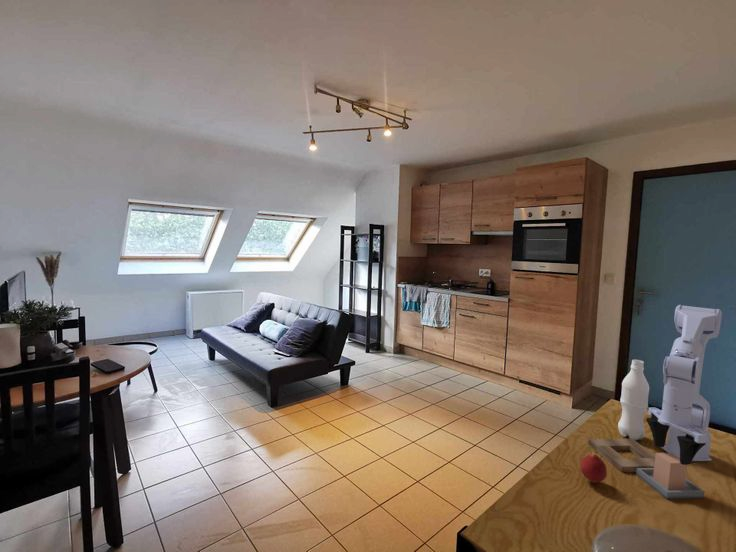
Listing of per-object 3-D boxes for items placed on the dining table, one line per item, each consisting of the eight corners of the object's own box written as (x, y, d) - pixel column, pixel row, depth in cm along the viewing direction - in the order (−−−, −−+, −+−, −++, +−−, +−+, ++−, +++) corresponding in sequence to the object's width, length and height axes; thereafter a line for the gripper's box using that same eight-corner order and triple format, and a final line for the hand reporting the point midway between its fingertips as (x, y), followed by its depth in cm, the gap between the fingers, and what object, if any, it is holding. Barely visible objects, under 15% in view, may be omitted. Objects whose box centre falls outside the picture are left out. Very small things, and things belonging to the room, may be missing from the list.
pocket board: (631, 443, 116) (631, 438, 116) (670, 471, 102) (670, 465, 102) (588, 443, 115) (588, 439, 115) (621, 471, 101) (621, 466, 101)
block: (669, 477, 98) (671, 452, 97) (684, 489, 94) (687, 462, 93) (652, 478, 98) (655, 452, 97) (667, 489, 93) (670, 463, 93)
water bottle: (639, 433, 122) (647, 359, 120) (648, 444, 116) (656, 366, 113) (614, 429, 125) (621, 356, 122) (621, 439, 118) (628, 363, 115)
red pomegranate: (598, 476, 99) (600, 447, 98) (610, 490, 93) (612, 460, 93) (575, 474, 100) (577, 445, 99) (585, 488, 94) (588, 458, 93)
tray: (669, 473, 101) (670, 467, 101) (703, 498, 91) (704, 491, 91) (636, 474, 100) (636, 468, 100) (666, 499, 91) (667, 492, 90)
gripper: (639, 391, 100) (634, 439, 102) (688, 417, 86) (682, 472, 87) (664, 391, 101) (659, 439, 102) (717, 417, 87) (710, 472, 88)
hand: (671, 454), depth 95 cm, fingers open, 7 cm apart
